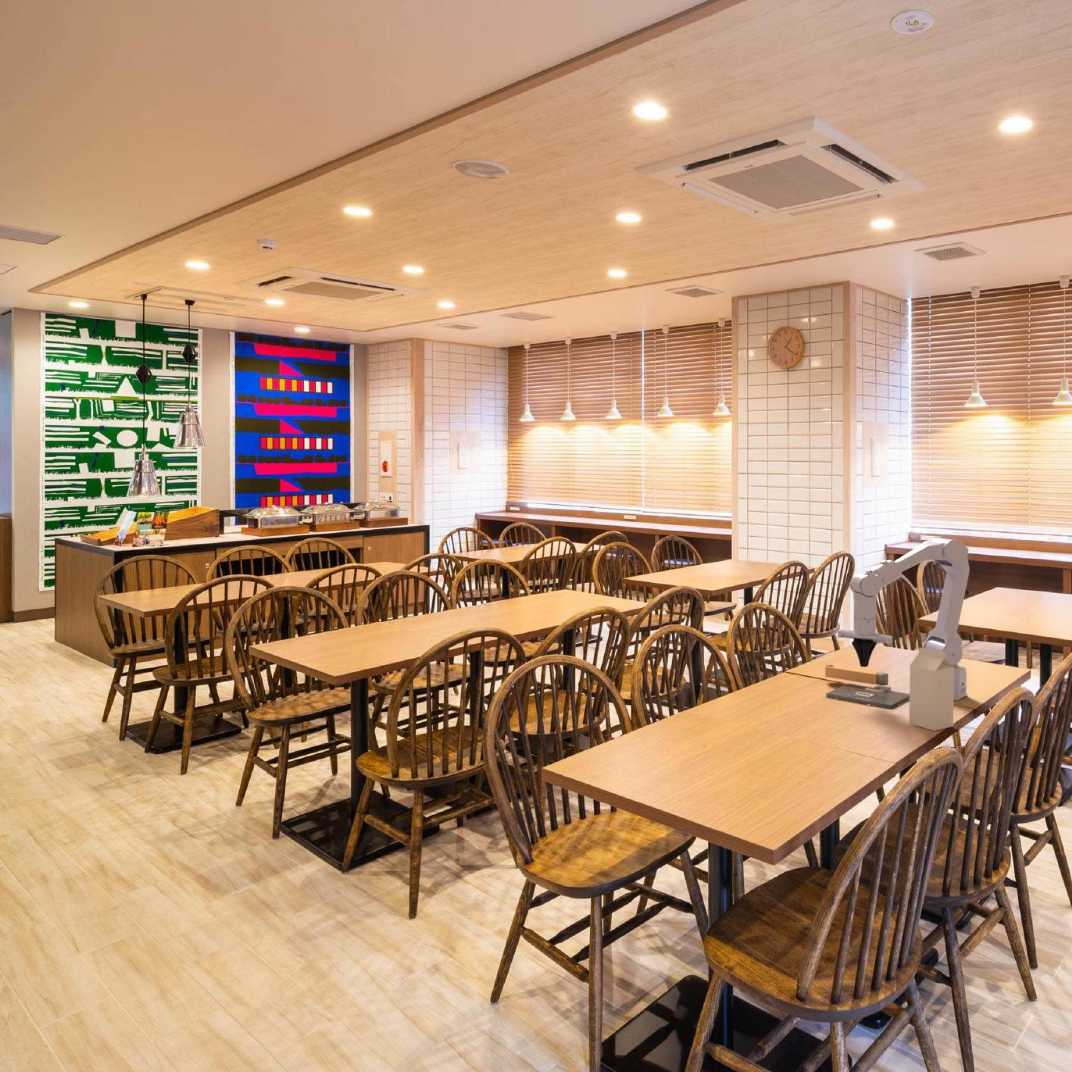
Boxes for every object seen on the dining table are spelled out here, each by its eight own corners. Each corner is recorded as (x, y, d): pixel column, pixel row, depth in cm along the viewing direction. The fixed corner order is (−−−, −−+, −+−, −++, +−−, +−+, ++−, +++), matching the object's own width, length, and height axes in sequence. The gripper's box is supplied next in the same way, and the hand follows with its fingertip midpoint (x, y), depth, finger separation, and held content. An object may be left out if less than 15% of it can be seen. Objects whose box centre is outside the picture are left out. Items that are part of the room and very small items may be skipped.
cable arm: (890, 683, 237) (890, 673, 237) (885, 686, 235) (885, 675, 234) (828, 673, 250) (828, 663, 250) (823, 676, 247) (823, 666, 247)
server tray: (916, 695, 232) (916, 689, 232) (890, 708, 220) (890, 703, 220) (854, 684, 245) (854, 679, 245) (826, 696, 232) (826, 691, 232)
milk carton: (934, 731, 200) (935, 654, 199) (908, 724, 207) (910, 649, 205) (953, 726, 204) (954, 651, 202) (927, 719, 210) (929, 645, 208)
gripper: (832, 616, 229) (832, 664, 230) (885, 622, 219) (884, 673, 220) (844, 613, 234) (843, 660, 235) (895, 618, 224) (895, 668, 225)
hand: (864, 666), depth 228 cm, fingers closed
